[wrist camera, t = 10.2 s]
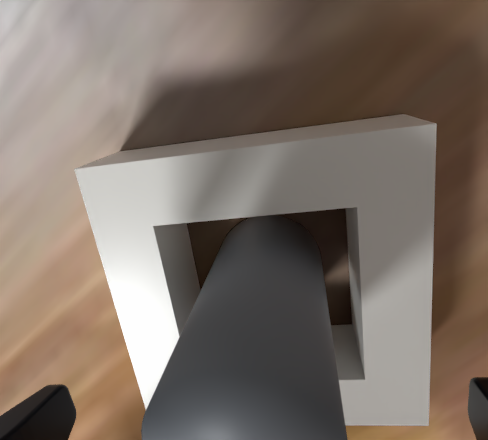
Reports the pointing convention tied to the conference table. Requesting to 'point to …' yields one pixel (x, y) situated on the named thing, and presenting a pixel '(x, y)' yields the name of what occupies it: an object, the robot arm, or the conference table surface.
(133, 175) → the socket block
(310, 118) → the conference table surface
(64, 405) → the robot arm
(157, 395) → the peg
